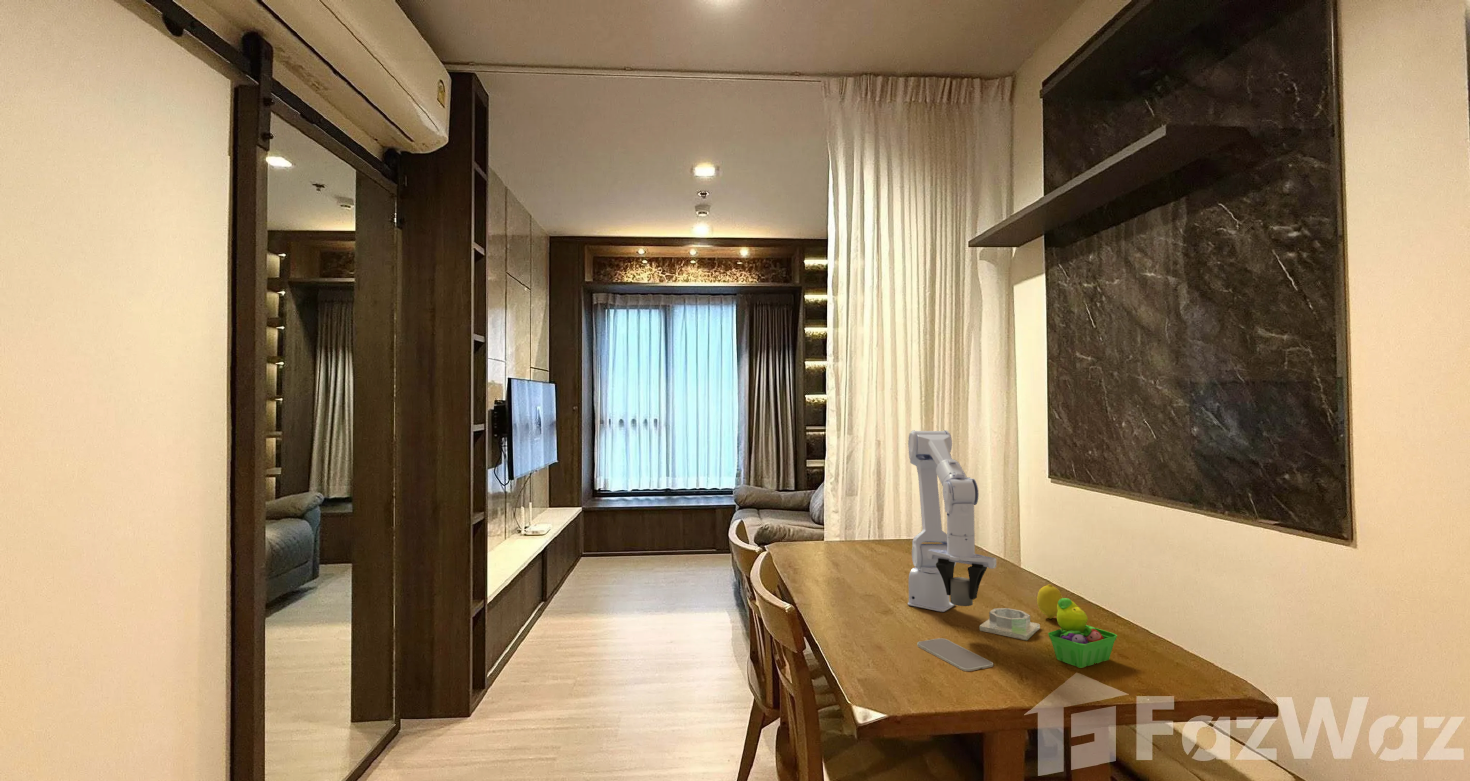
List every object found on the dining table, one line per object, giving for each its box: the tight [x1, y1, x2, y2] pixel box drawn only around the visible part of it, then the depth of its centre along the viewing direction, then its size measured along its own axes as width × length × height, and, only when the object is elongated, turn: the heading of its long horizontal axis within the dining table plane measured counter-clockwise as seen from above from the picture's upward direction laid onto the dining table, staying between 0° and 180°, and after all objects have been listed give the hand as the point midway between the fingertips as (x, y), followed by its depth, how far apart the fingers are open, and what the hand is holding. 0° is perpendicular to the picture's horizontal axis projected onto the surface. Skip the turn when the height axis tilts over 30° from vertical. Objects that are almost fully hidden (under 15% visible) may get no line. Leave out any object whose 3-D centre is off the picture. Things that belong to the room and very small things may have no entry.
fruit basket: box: [1047, 597, 1118, 669], centre depth 127 cm, size 11×9×11 cm
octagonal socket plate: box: [979, 607, 1041, 641], centre depth 144 cm, size 10×10×4 cm
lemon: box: [1036, 583, 1063, 619], centre depth 152 cm, size 6×6×8 cm
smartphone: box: [916, 638, 994, 672], centre depth 129 cm, size 7×1×15 cm
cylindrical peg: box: [949, 576, 974, 607], centre depth 141 cm, size 5×5×5 cm
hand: (961, 596), depth 141 cm, fingers closed on cylindrical peg, 5 cm apart
